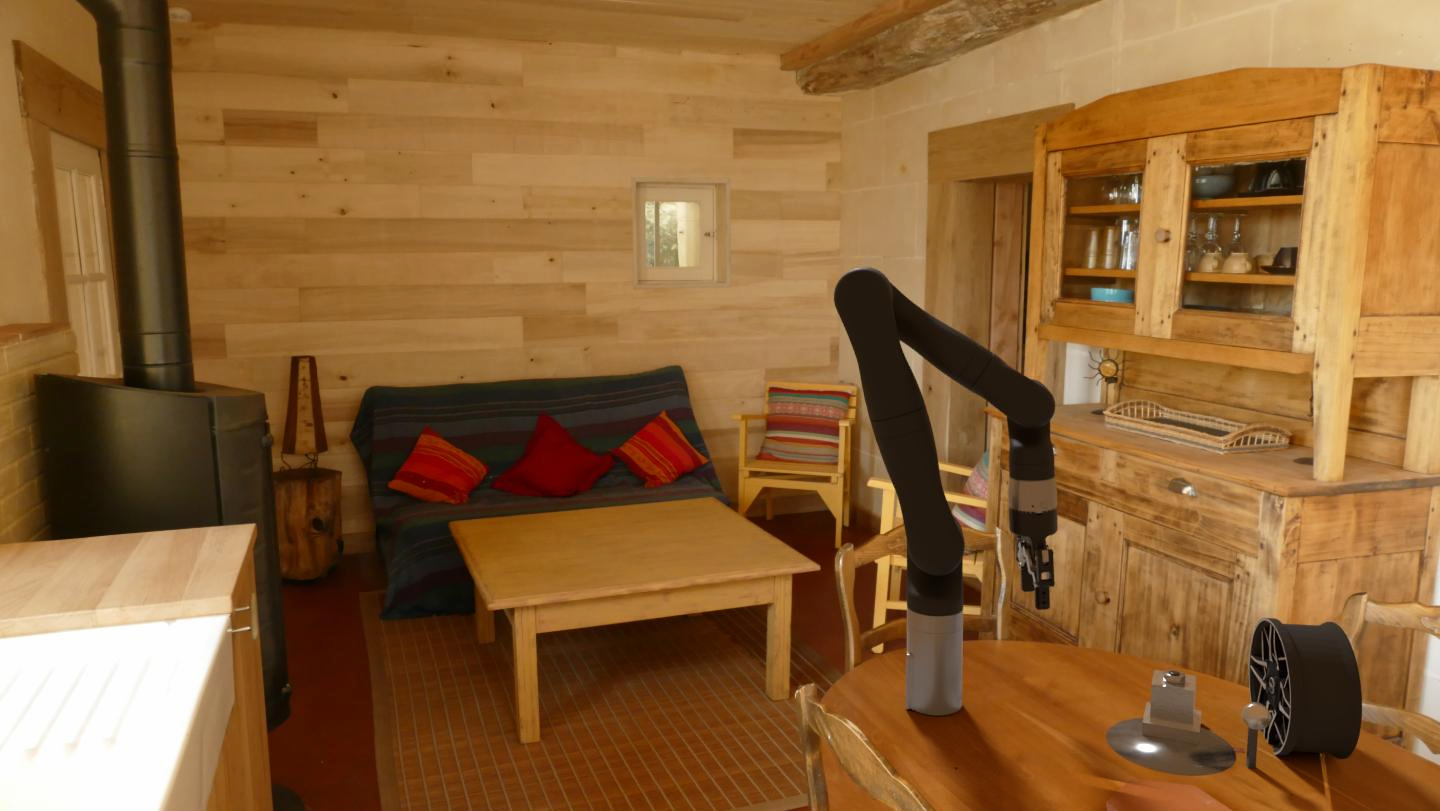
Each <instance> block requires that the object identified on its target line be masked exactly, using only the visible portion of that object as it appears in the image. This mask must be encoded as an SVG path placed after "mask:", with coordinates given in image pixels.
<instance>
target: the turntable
mask: <svg viewBox="0 0 1440 811" xmlns="http://www.w3.org/2000/svg"><path fill="white" fill-rule="evenodd" d="M1142 722H1143V717H1138V718H1129V719H1125V720H1122V721H1119V722H1116V723H1115V724H1112V725H1111V726H1109V728H1108V730H1107V731H1106V736H1105V739H1106V742H1107V744H1108V745H1109V747H1110V749H1112V751H1114V752H1115V753H1117V755H1119V757H1120V756H1121V757H1122V758H1123V759H1125V760H1128V761H1129V762H1131V763H1132V764H1136V765H1137V766H1140V767H1144V768H1147V769H1148V770H1153V771H1156V772H1160V773H1161V772H1162V773H1166V774H1171V775H1179V776H1209V775H1214V774H1218V773H1222V772H1224V771H1227V770H1228V769H1230V768H1231V767H1233V765H1234V764H1235V762H1236V760H1237V756H1236V755H1237V754H1236V753H1246V751H1245V750H1244V747H1243V748H1242V747H1233V746H1232V745H1231V744H1230V743H1229V742H1228V741H1227V740H1225V739H1224V738H1223V737H1221V736H1219V735H1218V734H1216V733H1214V732H1213V731H1211V730H1208V729H1206V728H1204V727H1202V726H1201V727H1200V737H1199V745H1198V744H1192V743H1187V742H1181V741H1176V740H1170V739H1165V738H1159V737H1153V736H1148V735H1142Z"/></svg>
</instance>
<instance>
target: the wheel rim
mask: <svg viewBox="0 0 1440 811" xmlns="http://www.w3.org/2000/svg"><path fill="white" fill-rule="evenodd" d="M1350 641H1351V640H1350V639H1349V637H1348V636H1347V634H1346V631H1345V630H1344V629H1343V628H1342V627H1341V626H1340V625H1339V624H1338V623H1336V622H1333V621H1325V622H1323V623H1321V624H1318V625H1317V624H1316V625H1315V624H1295V623H1293V624H1291V623H1283V622H1282V621H1280V620H1279V619H1277V618H1273V617H1272V618H1271V617H1261V619H1259V621H1257V623H1256V625H1255V626H1254V630H1253V632H1252V634H1251V640H1250V647H1249V654H1248V688H1249V690H1248V691H1249V697H1250V702H1257V703H1261V704H1263V705H1264V706H1265V707H1266V708H1267V709H1268V711H1269V712H1270V714H1271V718H1272V719H1271V723H1270V724H1269V726H1268V727H1266V728H1265V729H1262V730H1259V731H1260V732H1262V734H1263V738H1264V739H1266V740H1267V741H1266V743H1267V744H1269V745H1272V749H1273V751H1272V753H1273V754H1274V756H1284V757H1285V756H1287V755H1289V754H1290V753H1292V752H1299V753H1300V752H1301V753H1311V754H1313V753H1314V754H1327V755H1328V754H1329V756H1332V757H1333V758H1335V759H1337V760H1346V759H1348V758H1350V756H1352V754H1353V753H1354V752H1355V751H1356V750H1355V749H1356V747H1357V744H1358V742H1359V738H1360V734H1361V728H1362V722H1363V721H1362V720H1363V694H1362V682H1361V676H1360V671H1359V667H1358V661H1357V658H1356V654H1355V652H1354V649H1353V646H1352V644H1351V642H1350Z"/></svg>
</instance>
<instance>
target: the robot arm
mask: <svg viewBox="0 0 1440 811" xmlns="http://www.w3.org/2000/svg"><path fill="white" fill-rule="evenodd" d="M833 292H834V293H833V303H834V307H835V309H836V312H837V314H838V316H839V318H840V320H841V323H842V325H843V327H844V330H845V332H846V334H847V337H848V340H849V342H850V344H851V347H852V350H853V353H854V355H855V357H856V358H855V359H856V363H857V366H858V371H859V378H860V382H861V389H862V393H863V397H864V402H865V406H866V410H867V413H868V414H867V415H868V418H869V421H870V425H871V429H872V432H873V434H874V439H875V441H876V444H877V447H878V450H879V453H880V455H881V459H882V461H883V464H884V466H885V468H886V472H887V475H888V476H889V479H890V481H891V483H892V486H893V488H894V491H895V494H896V497H897V499H898V503H899V507H900V511H901V515H902V520H903V522H902V523H903V526H904V531H905V538H906V655H905V709H906V708H907V709H906V710H908V709H912V710H911V711H914V710H915V711H914V712H917V713H920V714H923V715H929V716H949V715H952V714H955V713H957V712H958V711H960V710H961V709H962V705H963V657H964V656H963V653H964V652H963V648H964V647H963V645H964V644H963V641H964V640H963V639H964V578H963V577H964V576H963V572H964V570H963V568H964V565H963V564H964V563H963V561H964V560H963V558H964V555H965V550H966V541H965V537H964V532H963V528H962V526H961V523H960V522H959V520H958V519H957V518H956V516H954V515H953V513H952V510H951V508H950V505H949V502H948V500H947V498H946V495H945V491H944V487H943V484H942V478H941V471H940V466H939V465H940V464H939V459H938V458H939V457H938V450H937V445H936V439H935V436H934V432H933V428H932V422H931V419H930V416H929V413H928V410H927V406H926V403H925V399H924V397H923V393H922V392H921V388H920V386H919V384H918V380H917V378H916V377H915V374H914V372H913V370H912V367H911V366H910V364H909V361H908V360H907V358H906V355H905V353H904V351H903V350H904V349H903V348H902V345H901V342H902V343H903V344H904V345H906V346H908V347H909V348H910V349H911V350H912V351H914V352H916V354H918V355H919V356H921V357H922V358H923V359H924V360H926V361H927V362H928V363H930V365H932V366H933V367H934V368H936V369H937V370H938V371H940V372H941V373H943V375H946V376H947V377H949V379H951V380H953V381H955V382H956V383H957V384H959V385H960V386H962V387H964V388H965V389H966V390H968V391H969V392H971V393H973V394H974V395H975V394H976V395H977V396H978V397H981V398H982V399H984V400H985V401H986V402H988V403H989V404H990V405H991V406H993V407H994V408H995V409H996V410H998V411H999V412H1001V414H1003V415H1004V416H1006V423H1007V431H1008V432H1007V433H1008V440H1009V446H1008V447H1009V449H1008V472H1009V475H1008V477H1009V478H1008V479H1009V480H1008V488H1007V492H1008V493H1007V494H1008V496H1007V497H1008V528H1009V531H1010V533H1011V534H1013V535H1014V536H1015V561H1016V563H1018V564H1017V565H1018V568H1019V570H1020V589H1021V590H1022V592H1024V593H1029V592H1033V593H1034V594H1033V595H1034V607H1035V609H1036V610H1039V611H1042V610H1043V611H1044V610H1045V611H1046V610H1049V609H1050V607H1051V603H1050V602H1051V601H1050V600H1051V598H1050V593H1051V592H1050V591H1051V590H1050V588H1051V587H1052V588H1054V587H1055V585H1056V584H1055V563H1054V560H1055V559H1054V554H1055V553H1054V551H1053V550H1054V549H1052V548H1050V546H1049V544H1047V541H1046V539H1047V538H1048V537H1049V536H1053V535H1055V534H1056V533H1057V532H1058V530H1059V528H1058V526H1059V524H1058V522H1059V521H1058V492H1057V483H1056V477H1055V476H1056V474H1055V470H1056V469H1055V452H1054V446H1053V443H1052V441H1051V440H1052V439H1051V420H1052V418H1053V417H1054V414H1055V413H1056V412H1055V411H1056V401H1055V397H1054V395H1053V394H1052V392H1051V391H1050V390H1049V389H1048V387H1047V386H1046V385H1045V384H1043V383H1042V382H1041V381H1039V380H1037V379H1033V378H1029V377H1028V376H1026V375H1025V374H1023V373H1021V372H1020V371H1018V370H1016V369H1015V368H1013V367H1011V366H1009V365H1008V364H1007V363H1006V361H1005V360H1003V359H1002V358H1001V357H1000V356H998V355H997V354H996V353H994V352H992V351H990V349H988V348H986V347H985V346H983V345H982V344H980V342H979V343H978V342H977V341H975V340H974V339H972V338H970V337H969V336H967V335H966V334H964V333H963V332H961V331H959V330H957V329H956V328H953V327H952V326H950V325H949V324H946V323H945V322H944V321H941V320H940V319H938V318H937V317H935V316H933V315H932V314H930V313H928V312H927V311H926V310H924V309H923V308H921V306H918V304H916V303H915V302H913V301H912V300H911V299H910V298H908V297H907V296H906V295H905V294H904V293H903V292H901V291H900V290H899V289H898V288H897V287H896V286H895V284H893V283H892V282H890V280H889V278H888V277H887V275H885V274H884V273H883V272H882V271H880V270H879V269H877V268H873V267H871V266H858V267H856V268H852V269H850V270H849V271H847V272H846V273H844V274H843V275H842V276H841V277H840V278H839V280H838V282H837V283H836V285H835V287H834V291H833ZM1042 574H1043V575H1044V578H1043V579H1042V577H1043V576H1042Z"/></svg>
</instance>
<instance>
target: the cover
mask: <svg viewBox="0 0 1440 811" xmlns="http://www.w3.org/2000/svg"><path fill="white" fill-rule="evenodd" d="M1153 670H1154V671H1153V675H1152V679H1151V685H1150V686H1151V688H1150V701H1146V705H1145V707H1144V714H1143V717H1142V718H1143V722H1142V735H1148V736H1153V737H1159V738H1165V739H1170V740H1176V741H1181V742H1187V743H1192V744H1198V745H1199V737H1200V727H1201V728H1202V726H1201V725H1202V710H1199V709H1195V707H1196V706H1195V705H1196V704H1195V703H1196V688H1197V686H1196V685H1197V676H1196V675H1192V674H1185V672H1182V671H1179V670H1175V669H1166V670H1159V669H1153Z"/></svg>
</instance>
